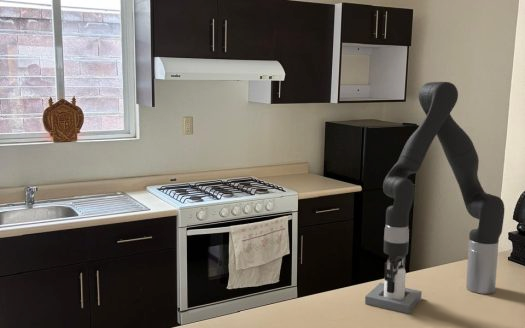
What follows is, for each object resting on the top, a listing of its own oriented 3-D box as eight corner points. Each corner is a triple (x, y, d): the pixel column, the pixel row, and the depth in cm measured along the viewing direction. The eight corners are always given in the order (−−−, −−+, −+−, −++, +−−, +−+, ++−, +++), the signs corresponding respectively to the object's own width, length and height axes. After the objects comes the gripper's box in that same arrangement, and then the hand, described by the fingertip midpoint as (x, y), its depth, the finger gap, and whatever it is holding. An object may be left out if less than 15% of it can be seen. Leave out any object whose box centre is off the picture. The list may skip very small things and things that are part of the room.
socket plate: (379, 289, 181) (380, 282, 180) (421, 298, 173) (421, 291, 173) (365, 303, 169) (365, 296, 169) (408, 313, 162) (409, 305, 161)
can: (404, 306, 167) (406, 270, 166) (383, 304, 169) (385, 268, 167) (403, 298, 174) (405, 263, 172) (383, 296, 175) (384, 261, 173)
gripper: (401, 246, 160) (398, 298, 163) (414, 235, 172) (412, 284, 175) (377, 242, 164) (375, 293, 166) (392, 231, 176) (390, 279, 179)
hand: (394, 288), depth 171 cm, fingers open, 7 cm apart
